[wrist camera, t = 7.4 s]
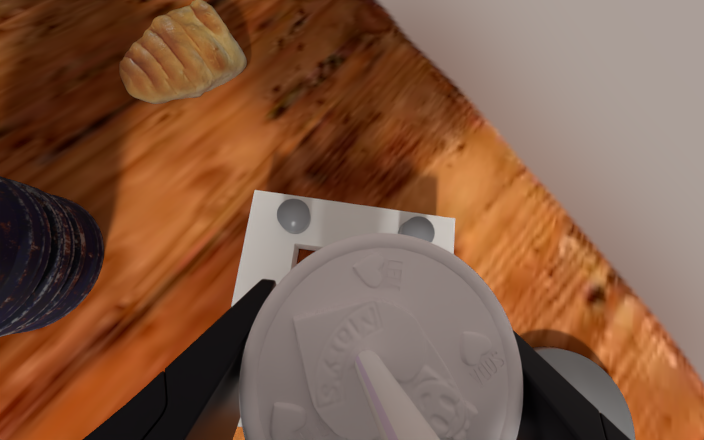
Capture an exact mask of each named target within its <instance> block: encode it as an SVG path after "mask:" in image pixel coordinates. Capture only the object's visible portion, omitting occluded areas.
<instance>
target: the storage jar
mask: <svg viewBox="0 0 704 440" xmlns="http://www.w3.org/2000/svg"><path fill="white" fill-rule="evenodd" d="M103 258H104V245H103V238H102V234H101V232H100V229H99V227H98V225H97V223H96V221H95V220H94V218H93V217H92V216H91V215H90V214H89V213H88V212H87V211H86V210H85V209H84V208H82V207H81V206H80V205H78V204H76V203H74V202H72V201H70V200H67V199H65V198H62V197H59V196H55V195H51V194H48V193H45V192H43V191H41V190H39V189H37V188H35V187H32V186H29V185H26V184H23V183H20V182H17V181H13V180H10V179H6V178H3V177H0V336H4V335H8V334H15V333H22V332H27V331H32V330H35V329H39V328H42V327H45V326H47V325H49V324H51V323H54V322H56V321H57V320H59V319H61V318H62V317H64V316H66V315H67V314H68V313H70V312H71V311H72V310H73V309H75V308H76V307H77V306H78V305H79V304H80V303H81V302H82V301H83V300H84V299H85V297H86V296H87V295H88V293H89V292H90V291H91V289H92V288H93V286H94V284H95V282H96V280H97V279H98V276H99V273H100V270H101V268H102V263H103Z"/></svg>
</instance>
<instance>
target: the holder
mask: <svg viewBox="0 0 704 440" xmlns="http://www.w3.org/2000/svg"><path fill="white" fill-rule="evenodd" d="M371 233H394V234H403V235H408V236H413V237H416V238H420V239H423V240H426V241H428V242H431V243H433V244H436V245H438V246H440V247H442V248H444V249H445V250H447V251H449V252H451V253H452V254H454V234H455V218H448V217H441V216H434V215H427V214H420V213H413V212H406V211H399V210H392V209H385V208H378V207H371V206H364V205H357V204H350V203H343V202H336V201H329V200H322V199H315V198H308V197H301V196H294V195H287V194H280V193H273V192H266V191H259V190H255V191H254V196H253V200H252V205H251V210H250V215H249V220H248V225H247V230H246V235H245V240H244V245H243V250H242V255H241V260H240V265H239V270H238V275H237V280H236V285H235V290H234V295H233V300H232V305H231V307H232V306H233V305H234V304H235V303H236V302H237V301H239V300H240V299H241V298H242V297H243V296H244V295H245V294H246V293H247V292H248V291H249V290H250V289H251V288H253V287H254V286H255V285H256V284H257V283H258V282H259V281H260V280H261V279H270V280H275V281H276V285H277V284H278V283H279V282H280V281H281V279H282V278H283V277H284V276H285V275H286V274H287V273H288V272H289V271H290V270H291V269H292V268H293V267H295V266H296V265H297V258H298V252H299V249H305V250H313V251H317V250H319V249H321V248H323V247H325V246H327V245H329V244H331V243H334V242H336V241H339V240H342V239H345V238H348V237H352V236H357V235H362V234H371ZM238 427H242V423H241V417H240V420H239V423H238Z"/></svg>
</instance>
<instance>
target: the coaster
mask: <svg viewBox="0 0 704 440" xmlns="http://www.w3.org/2000/svg"><path fill="white" fill-rule="evenodd" d="M533 349H534V350H535V351H536V352H537V353H538V354H539V355H540V356H541V357H542V358H543V359H545V360H546V361H547V362H548V363H549V364H550V365H551V366H552V367H553V368H554V369H555V370H556V371H557V372H558V373H560V374H561V375H562V376H563V377H564V378H565V379H566V380H567V381H568V382H569V383H570V384H571V385H572V386H573V387H575V388H576V389H577V390H578V391H579V392H580V393H581V394H582V395H583V396H584V397H585V398H586V399H587V400H588V401H590V402H591V403H592V404H593V405H594V406H595V407H596V408H597V409H598V410H599V413H602V414H604V415H605V416H606V417H607V418H608V419H609V420H610V421H611V422H612V423H613V424H614V425H615V426H616V427H617V428H619V429H620V430H621V431H622V432H623V433H624V434H625V435H626V436H627V437H628V438H630V439H631V440H635V432H634V426H633V421H632V417H631V414H630V411H629V408H628V405H627V403H626V401H625V399H624V397H623V395H622V393H621V392H620V390H619V388H618V387H617V385H616V384H615V382H614V381H613V380H612V379H611V377H610V376H609V375H608V374H607V373H606V372H605V371H604V370H603V369H602V368H601V367H599V366H598V365H597V364H596V363H594V362H593V361H591V360H590V359H588V358H586V357H584V356H582V355H580V354H577V353H574V352H571V351H568V350H564V349H561V348H556V347H544V346H543V347H535V348H533Z"/></svg>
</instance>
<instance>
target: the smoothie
mask: <svg viewBox="0 0 704 440" xmlns="http://www.w3.org/2000/svg"><path fill="white" fill-rule="evenodd" d="M239 407H240V415H241V423H242V428H243V432H244V437H245V440H516V438H517V435H518V431H519V426H520V421H521V414H522V407H523V374H522V366H521V359H520V354H519V350H518V345H517V342H516V339H515V335H514V332H513V330H512V327H511V325H510V322H509V320H508V318H507V316H506V314H505V312H504V310H503V308H502V306H501V304H500V303H499V301H498V299H497V298H496V296H495V295H494V293H493V292H492V291H491V289H490V288H489V286H488V285H487V284H486V283H485V282H484V281H483V279H482V278H481V277H480V276H479V275H478V274H477V273H476V272H475V271H474V270H473V269H472V268H471V267H470V266H468V265H467V264H466V263H465V262H463V261H462V260H461V259H460V258H458V257H457V256H455V255H454V254H452V253H451V252H449V251H447V250H445V249H444V248H442V247H440V246H438V245H436V244H433V243H431V242H428V241H426V240H423V239H420V238H416V237H413V236H408V235H403V234H394V233H371V234H362V235H357V236H352V237H348V238H345V239H342V240H339V241H336V242H334V243H331V244H329V245H327V246H325V247H323V248H321V249H319V250H317V251H315V252H314V253H312V254H311V255H309V256H308V257H306V258H305V259H303V260H302V261H301V262H300V263H298V264H297V265H296V266H295V267H293V268H292V269H291V270H290V271H289V272H288V273H287V274H286V275H285V276H284V277H283V278H282V279H281V281H280V282H279V283H278V284H277V285H276V286H275V288H274V289H273V290H272V292H271V293H270V295H269V296H268V297H267V299H266V300H265V302H264V304H263V305H262V307H261V309H260V311H259V312H258V314H257V316H256V319H255V321H254V323H253V325H252V327H251V330H250V333H249V336H248V339H247V342H246V345H245V349H244V353H243V357H242V363H241V370H240V380H239Z"/></svg>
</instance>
